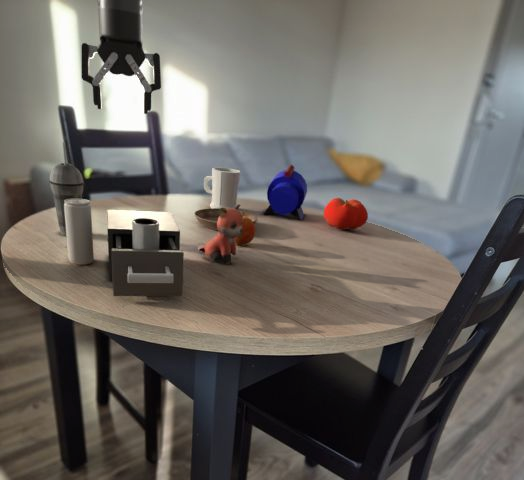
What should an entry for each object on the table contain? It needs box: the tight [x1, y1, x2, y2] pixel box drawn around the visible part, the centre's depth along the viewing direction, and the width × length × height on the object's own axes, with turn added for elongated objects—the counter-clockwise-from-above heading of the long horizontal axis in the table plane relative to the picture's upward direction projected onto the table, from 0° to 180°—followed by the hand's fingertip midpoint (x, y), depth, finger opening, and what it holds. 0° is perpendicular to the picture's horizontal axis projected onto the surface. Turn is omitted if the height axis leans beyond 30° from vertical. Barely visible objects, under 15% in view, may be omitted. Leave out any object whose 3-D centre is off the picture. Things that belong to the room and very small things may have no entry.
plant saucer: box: [193, 207, 258, 231], centre depth 135 cm, size 18×18×3 cm
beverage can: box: [64, 198, 95, 266], centre depth 94 cm, size 5×5×12 cm
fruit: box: [234, 212, 256, 246], centre depth 119 cm, size 7×7×8 cm
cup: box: [203, 167, 241, 209], centre depth 151 cm, size 10×9×12 cm
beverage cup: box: [49, 141, 85, 237], centre depth 109 cm, size 7×7×20 cm
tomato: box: [323, 197, 369, 231], centre depth 146 cm, size 14×13×9 cm
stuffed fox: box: [197, 204, 243, 265], centre depth 106 cm, size 8×11×12 cm
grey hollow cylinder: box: [132, 218, 159, 250], centre depth 85 cm, size 4×4×10 cm
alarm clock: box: [263, 164, 308, 221], centre depth 153 cm, size 12×12×15 cm
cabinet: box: [106, 209, 181, 282], centre depth 95 cm, size 15×13×10 cm
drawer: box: [112, 234, 185, 297], centre depth 84 cm, size 19×12×8 cm, turn 16°
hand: (122, 111), depth 93 cm, fingers open, 8 cm apart
